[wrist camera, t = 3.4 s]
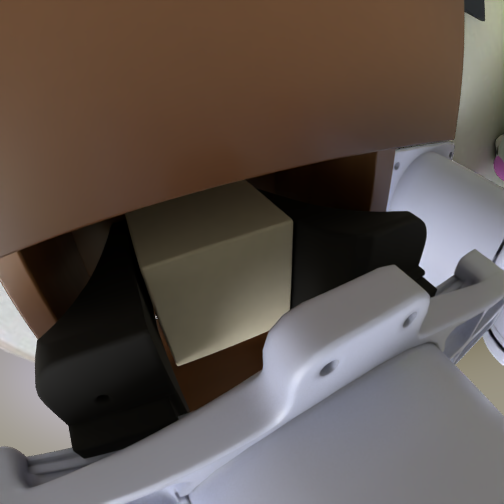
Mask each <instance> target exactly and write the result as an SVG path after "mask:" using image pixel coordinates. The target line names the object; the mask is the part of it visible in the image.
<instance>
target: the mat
mask: <svg viewBox="0 0 504 504" xmlns="http://www.w3.org/2000/svg"><path fill="white" fill-rule="evenodd" d="M464 12H466V13H468V14H470V15H472V16H473V17H475V18H477V19H479V20H481V21H485V6H484V0H464Z"/></svg>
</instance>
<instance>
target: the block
mask: <svg viewBox="0 0 504 504" xmlns="http://www.w3.org/2000/svg"><path fill="white" fill-rule="evenodd" d="M125 216H126V220H127V224H128V228H129V232H130V235H131V239H132V243H133V246H134V250H135V253H136V257H137V260H138V264H139V267H140V270H141V273H142V276H143V279H144V282H145V285H146V288H147V291H148V294H149V296H150V299H151V302H152V305H153V307H154V310H155V313H156V315H157V318H158V321H159V323H160V326H161V329H162V331H163V334H164V336H165V339H166V341H167V344H168V346H169V349H170V351H171V354H172V356H173V358H174V361H175V363H176V365H177V366H180V365H183V364H186V363H189V362H191V361H194V360H197V359H199V358H202V357H205V356H207V355H210V354H213V353H215V352H218V351H220V350H223V349H225V348H228V347H230V346H233V345H236V344H238V343H240V342H243V341H245V340H248V339H250V338H253V337H255V336H258V335H260V334H262V333H265V332H267V331H269V330H270V329H271V328H272V327H273V326H274V325H275V323H276V322H277V321H278V320H279V319H280V318H281V316H282V315H283V314H285V313H286V312H288V311H290V304H291V280H292V251H293V220H292V219H291V218H290V217H289V216H288V215H286V214H285V213H284V212H283V211H282V210H281V209H279V208H278V207H277V206H276V205H275V204H274V203H272V202H271V201H270V200H269V199H268V198H266V197H265V196H264V195H263V194H262V193H260V192H259V191H258V190H257V189H256V188H254V187H253V186H252V185H251V184H250V183H248V182H247V181H246V180H241V181H237V182H233V183H229V184H225V185H221V186H217V187H214V188H210V189H206V190H202V191H199V192H195V193H192V194H188V195H184V196H181V197H177V198H174V199H170V200H167V201H164V202H160V203H157V204H154V205H150V206H147V207H144V208H140V209H137V210H134V211H131V212H128V213H125Z"/></svg>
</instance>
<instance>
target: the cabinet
mask: <svg viewBox="0 0 504 504" xmlns="http://www.w3.org/2000/svg"><path fill="white" fill-rule="evenodd" d="M463 57H464V0H0V258H2V257H5V256H7V255H10V254H12V253H15V252H17V251H20V250H22V249H25V248H27V247H30V246H33V245H35V244H38V243H41V242H43V241H46V240H49V239H51V238H54V237H57V236H60V235H62V234H65V233H68V232H71V231H74V230H76V229H79V228H82V227H85V226H88V225H91V224H94V223H97V222H100V221H103V220H106V219H109V218H112V217H115V216H118V215H121V214H124V213H128V212H131V211H134V210H137V209H140V208H144V207H147V206H150V205H154V204H157V203H160V202H164V201H167V200H170V199H174V198H177V197H181V196H184V195H188V194H192V193H195V192H199V191H202V190H206V189H210V188H214V187H217V186H221V185H225V184H229V183H233V182H237V181H241V180H245V179H249V178H253V177H257V176H261V175H265V174H269V173H274V172H278V171H282V170H287V169H291V168H296V167H300V166H305V165H310V164H314V163H319V162H324V161H329V160H334V159H339V158H344V157H349V156H355V155H360V154H365V153H371V152H377V151H382V150H388V149H394V148H400V147H407V146H413V145H420V144H427V143H434V142H441V141H448V140H454V138H455V132H456V126H457V119H458V112H459V104H460V95H461V85H462V73H463Z"/></svg>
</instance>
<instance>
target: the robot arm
mask: <svg viewBox="0 0 504 504" xmlns="http://www.w3.org/2000/svg"><path fill="white" fill-rule="evenodd" d="M454 148H455V146H454V143H452V142H442V143H435V144H428V145H422V146H415V147H409V148H403V149H397V150H395V158H394V165H393V172H392V179H391V185H390V192H389V198H388V203H387V209H386V212H375V211H354V210H345V209H337V208H330V207H324V206H319V205H314V204H309V203H305V202H301V201H297V200H294V199H290V198H287V197H283V196H280V195H277V194H273V193H270V192H267V191H264V190H261V189H257V188H256V189H257V190H258V191H259V192H260V193H262V194H263V195H264V196H265V197H266V198H268V199H269V200H270V201H271V202H272V203H274V204H275V205H276V206H277V207H278V208H279V209H281V210H282V211H283V212H284V213H285V214H286V215H288V216H289V217H290V218H291V219H292V220H293V251H292V280H291V304H290V311H288V312H286V313H285V314H283V315H282V316H281V318H280V319H279V320H278V321H277V322H276V323H275V325H274V326H273V327H272V328H271V329H270V330H269V332H268V335H267V338H266V341H265V344H264V347H263V369H262V370H260V371H259V372H257V373H256V374H254V375H253V376H251V377H249V378H248V379H246V380H245V381H243V382H242V383H240V384H238V385H237V386H235V387H234V388H232V389H230V390H229V391H227V392H226V393H224V394H222V395H221V396H219V397H217V398H216V399H214V400H212V401H211V402H209V403H207V404H206V405H204V406H202V407H201V408H199V409H197V410H195V411H192V412H190V409H189V407H188V405H187V403H186V400H185V398H184V396H183V393H182V391H181V389H180V386H179V384H178V381H177V379H176V376H175V374H174V372H173V369H172V366H171V364H170V361H169V359H168V356H167V354H166V351H165V348H164V346H163V343H162V340H161V337H160V334H159V330H158V326H157V322H156V318H155V314H154V309H153V305H152V302H151V299H150V296H149V294H148V291H147V288H146V285H145V282H144V279H143V276H142V273H141V270H140V267H139V264H138V260H137V257H136V253H135V250H134V246H133V243H132V239H131V235H130V232H129V228H128V224H127V220H126V219H124V220H121V221H118V222H115V223H112V225H111V227H110V231H109V234H108V237H107V240H106V243H105V246H104V249H103V251H102V254H101V256H100V259H99V261H98V263H97V265H96V268H95V270H94V272H93V274H92V276H91V277H90V279H89V281H88V283H87V284H86V286H85V287H84V289H83V290H82V291H81V293H80V294H79V296H78V297H77V298H76V300H75V301H74V303H73V304H72V305H71V306H70V307H69V309H68V310H67V311H66V312H65V313H64V314H63V316H62V317H61V318H60V319H59V320H58V321H57V322H56V323H55V324H54V325H53V326H52V327H51V328H50V329H49V330H48V331H47V332H46V333H45V334H44V335H43V336H42V337H40V338H39V339H38V340H37V347H36V354H35V384H36V390H37V393H38V396H39V397H40V399H41V400H42V401H43V402H44V404H45V405H46V406H47V407H49V408H50V409H51V410H52V411H53V412H54V413H55V414H56V415H57V416H58V417H59V418H61V419H62V420H63V421H64V422H65V423H66V424H67V425H68V426H69V431H70V437H71V443H72V448H68V449H64V450H59V451H54V452H49V453H45V454H39V455H34V456H28V457H26V456H25V455H24V454H22V453H21V452H20V451H18V450H17V449H15V448H12V447H6V446H3V447H0V504H504V416H503V415H502V414H501V413H500V412H499V411H498V409H497V408H496V407H495V406H494V405H493V404H492V403H491V402H490V401H489V400H488V399H487V398H486V397H485V396H484V394H483V393H482V392H481V391H480V390H479V389H478V388H477V387H476V386H475V385H474V384H473V383H472V382H471V381H470V380H469V379H468V378H467V377H466V376H465V375H464V374H463V373H462V372H461V371H460V369H458V368H457V366H455V364H456V363H457V362H458V361H459V360H460V359H461V358H462V357H463V356H464V355H465V354H466V353H467V352H468V351H469V350H470V348H472V346H473V345H474V344H475V343H476V342H477V341H478V340H479V339H480V338H481V337H482V336H483V339H484V341H485V344H486V346H487V347H488V349H489V351H490V352H491V354H492V355H493V356H494V357H495V358H496V359H497V361H498V362H500V363H501V364H502V365H503V366H504V188H502V187H500V186H498V185H497V184H495V183H493V182H492V181H490V180H488V179H486V178H484V177H483V176H481V175H479V174H477V173H475V172H473V171H472V170H470V169H468V168H466V167H464V166H462V165H460V164H458V163H456V162H454V161H452V159H453V154H454Z"/></svg>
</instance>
